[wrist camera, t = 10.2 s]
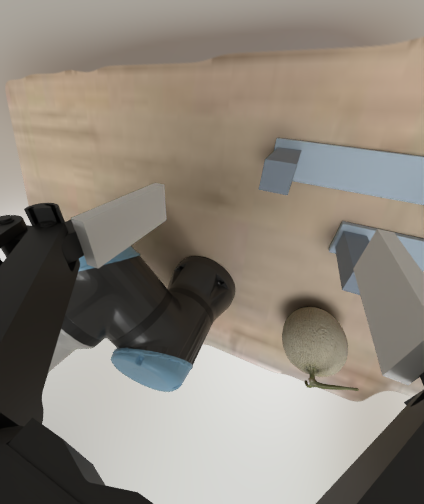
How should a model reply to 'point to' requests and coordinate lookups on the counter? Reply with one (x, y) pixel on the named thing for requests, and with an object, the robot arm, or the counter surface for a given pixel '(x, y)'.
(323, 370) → the fruit
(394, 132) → the counter surface
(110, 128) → the counter surface
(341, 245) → the lane
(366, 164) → the strip
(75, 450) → the robot arm
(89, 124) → the counter surface
